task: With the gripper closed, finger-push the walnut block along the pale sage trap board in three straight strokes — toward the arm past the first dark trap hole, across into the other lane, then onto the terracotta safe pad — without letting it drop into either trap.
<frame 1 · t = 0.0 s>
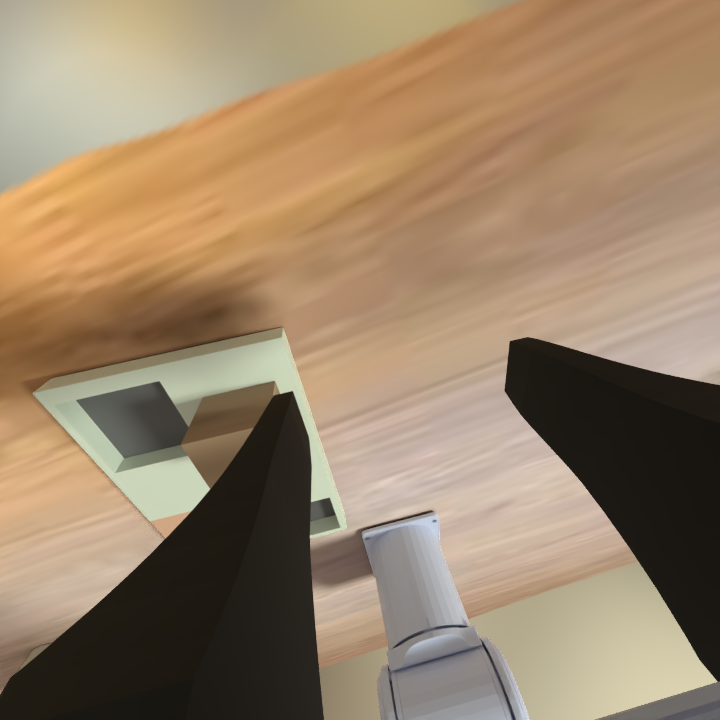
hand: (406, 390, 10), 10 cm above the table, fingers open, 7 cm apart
block: (251, 416, 20), point 1 cm above the table, touching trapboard
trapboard: (232, 462, 24), on the table
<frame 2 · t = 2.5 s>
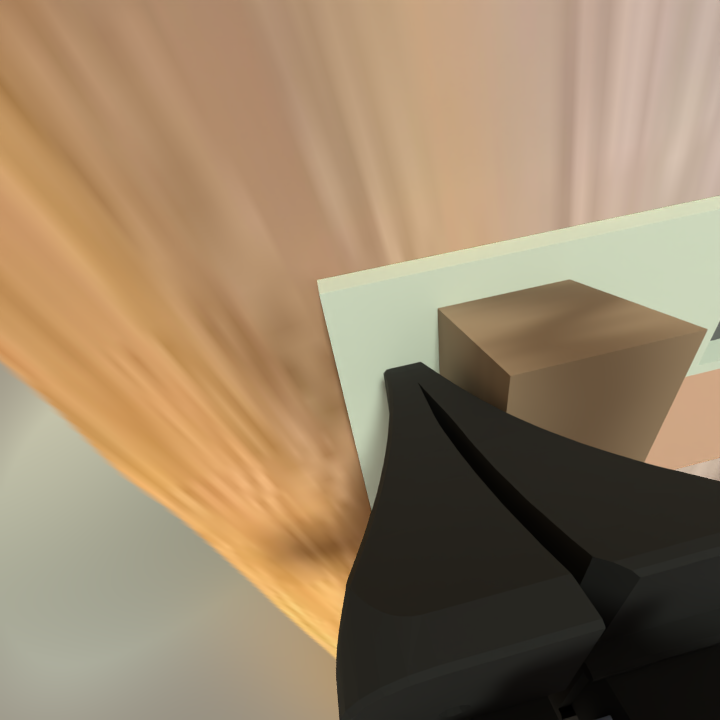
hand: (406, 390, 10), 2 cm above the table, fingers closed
block: (499, 352, 11), point 2 cm above the table, touching gripper, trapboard
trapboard: (561, 381, 14), on the table
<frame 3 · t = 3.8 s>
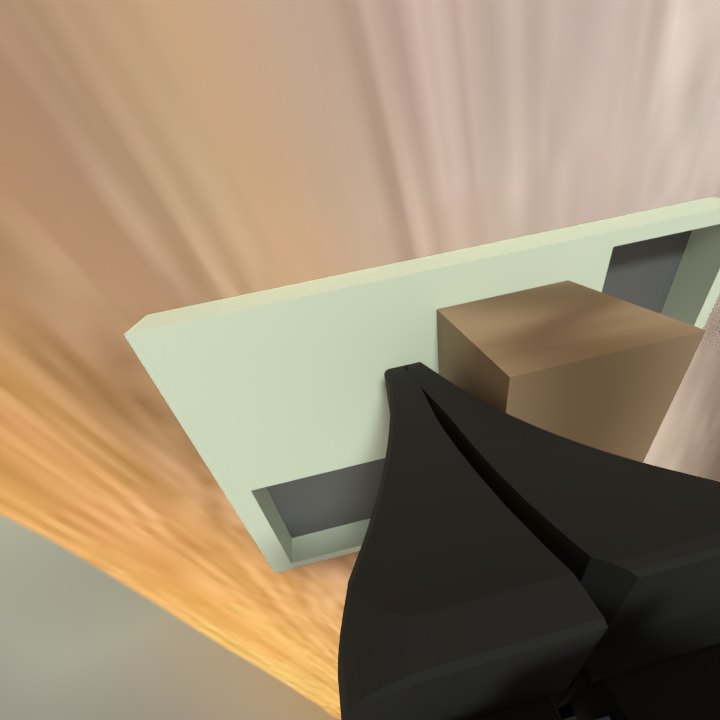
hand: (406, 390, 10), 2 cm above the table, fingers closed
block: (498, 353, 11), point 2 cm above the table, touching gripper, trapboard
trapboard: (446, 408, 14), on the table
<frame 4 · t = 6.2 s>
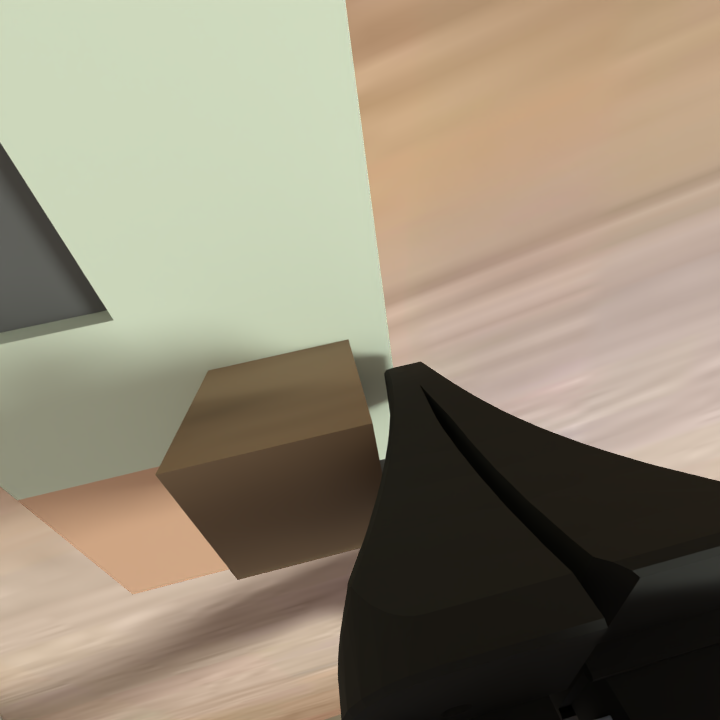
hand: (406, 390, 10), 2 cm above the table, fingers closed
block: (298, 408, 11), point 2 cm above the table, touching gripper, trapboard
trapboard: (196, 375, 11), on the table
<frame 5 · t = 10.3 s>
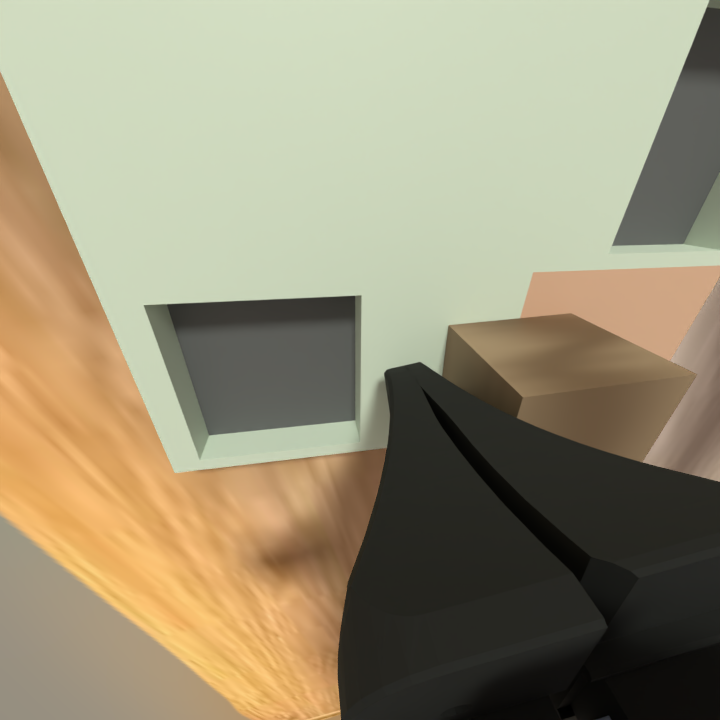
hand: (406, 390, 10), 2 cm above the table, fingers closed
block: (498, 374, 12), point 2 cm above the table, touching gripper
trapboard: (439, 263, 11), on the table
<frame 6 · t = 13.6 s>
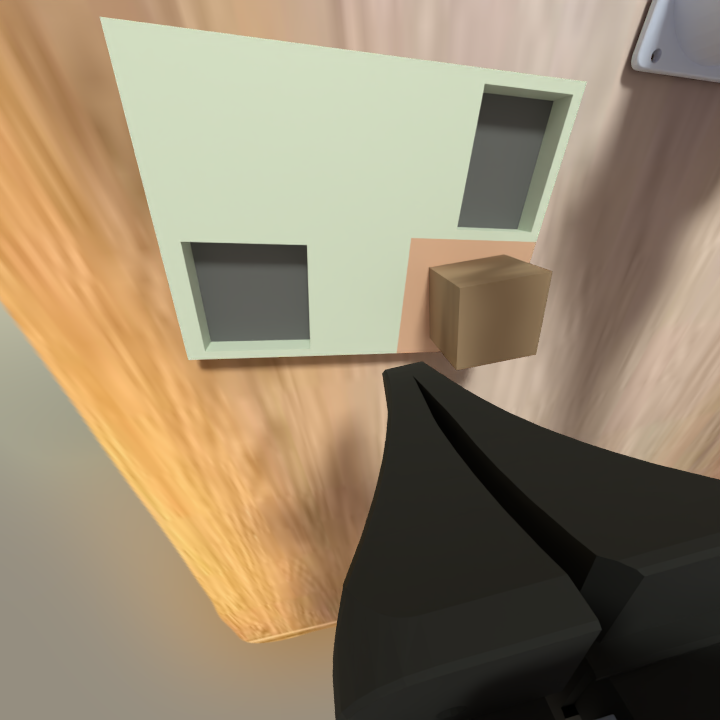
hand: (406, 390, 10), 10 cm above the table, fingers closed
block: (464, 298, 19), point 1 cm above the table, touching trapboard
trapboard: (360, 232, 17), on the table
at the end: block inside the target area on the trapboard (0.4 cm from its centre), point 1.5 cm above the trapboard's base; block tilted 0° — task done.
